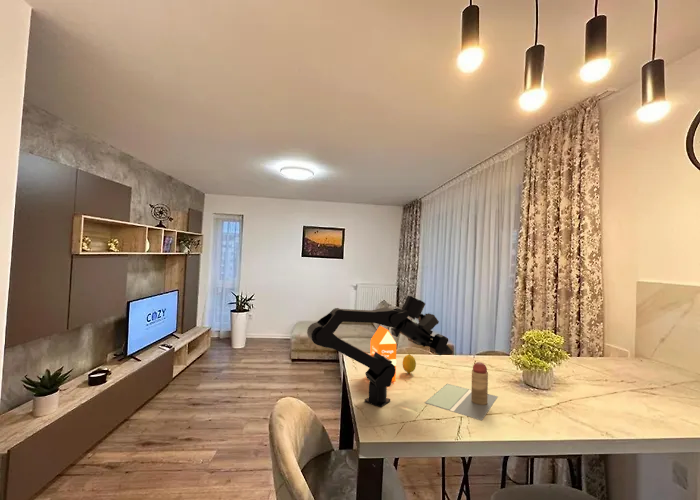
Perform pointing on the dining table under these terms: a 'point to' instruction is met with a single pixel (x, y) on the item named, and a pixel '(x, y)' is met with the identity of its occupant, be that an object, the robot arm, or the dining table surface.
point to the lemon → (409, 363)
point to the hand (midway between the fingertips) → (443, 349)
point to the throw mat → (460, 401)
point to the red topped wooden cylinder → (479, 384)
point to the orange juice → (384, 346)
